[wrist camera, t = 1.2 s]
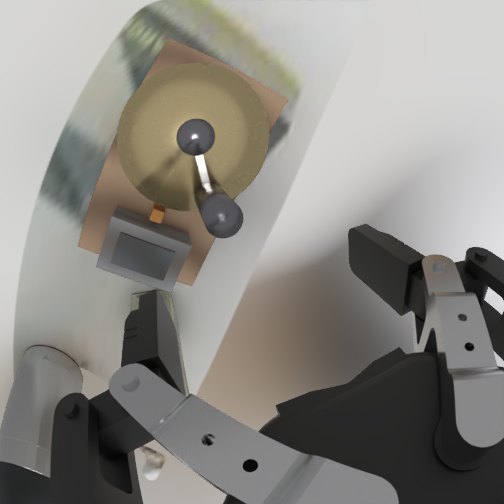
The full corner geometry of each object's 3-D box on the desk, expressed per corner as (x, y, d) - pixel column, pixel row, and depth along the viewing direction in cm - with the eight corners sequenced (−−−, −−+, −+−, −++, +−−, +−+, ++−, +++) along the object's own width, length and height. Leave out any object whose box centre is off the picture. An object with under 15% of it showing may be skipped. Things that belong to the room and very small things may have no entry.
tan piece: (190, 278, 29) (196, 304, 25) (81, 240, 24) (68, 261, 20) (281, 100, 24) (304, 97, 20) (168, 43, 19) (169, 26, 15)
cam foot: (272, 186, 26) (314, 211, 19) (144, 224, 24) (137, 265, 17) (247, 57, 20) (283, 31, 13) (106, 91, 18) (80, 75, 11)
